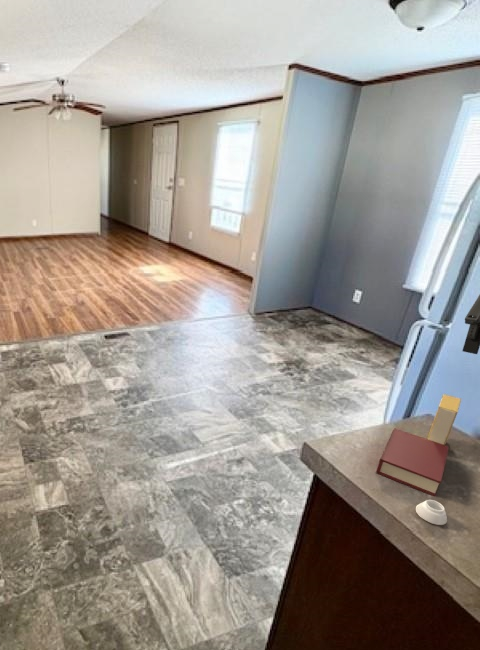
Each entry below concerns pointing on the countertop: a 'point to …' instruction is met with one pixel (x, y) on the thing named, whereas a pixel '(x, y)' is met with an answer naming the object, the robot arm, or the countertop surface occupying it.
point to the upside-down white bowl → (432, 512)
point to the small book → (444, 419)
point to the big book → (413, 461)
